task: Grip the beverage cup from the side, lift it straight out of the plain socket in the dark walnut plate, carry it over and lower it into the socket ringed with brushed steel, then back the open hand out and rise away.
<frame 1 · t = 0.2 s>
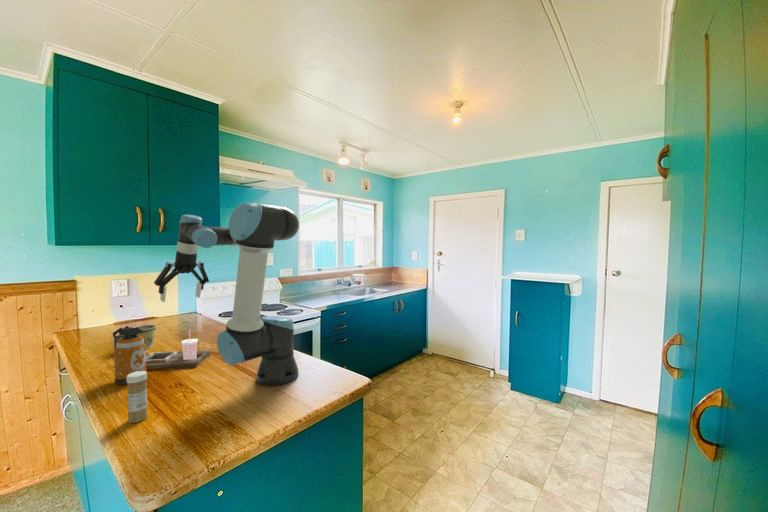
hand: (180, 298, 132), 27 cm above the counter, tool tilted 15°, fingers open, 13 cm apart
canister: (128, 380, 114), on the counter
socket plate: (174, 362, 131), on the counter
sprinkles bottle: (137, 419, 88), on the counter
beverage cup: (190, 361, 132), resting in socket plate
ceramic cup: (144, 347, 150), on the counter
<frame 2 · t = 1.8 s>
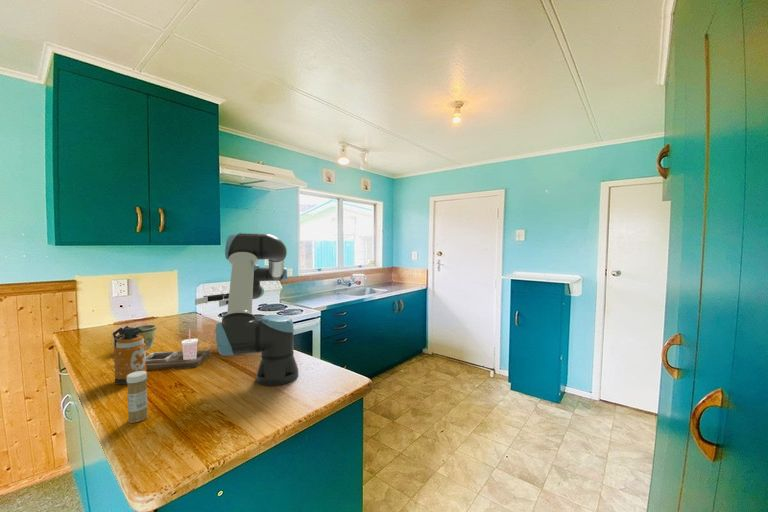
hand: (207, 302, 141), 24 cm above the counter, tool horizontal, fingers open, 13 cm apart
nothing on the counter moved.
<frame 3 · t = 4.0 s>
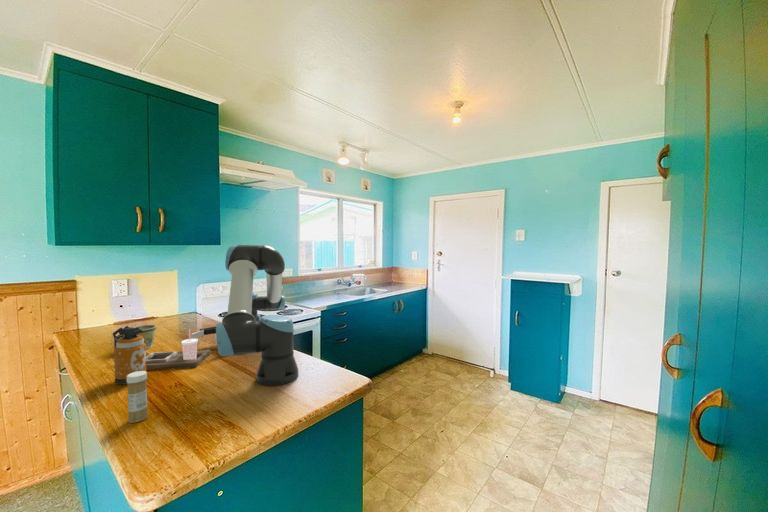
hand: (203, 338, 139), 8 cm above the counter, tool horizontal, fingers open, 13 cm apart
nothing on the counter moved.
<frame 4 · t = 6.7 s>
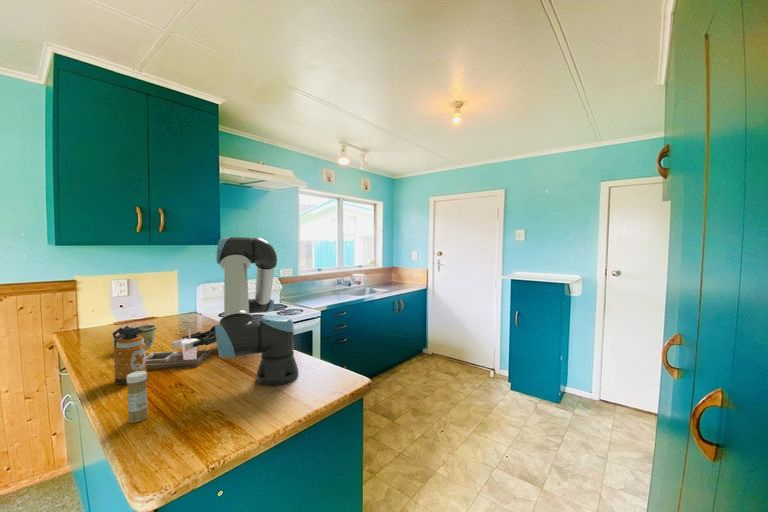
hand: (179, 346, 127), 8 cm above the counter, tool horizontal, fingers closed on beverage cup, 6 cm apart
beverage cup: (190, 361, 132), resting in socket plate, touching gripper
everything else where it was.
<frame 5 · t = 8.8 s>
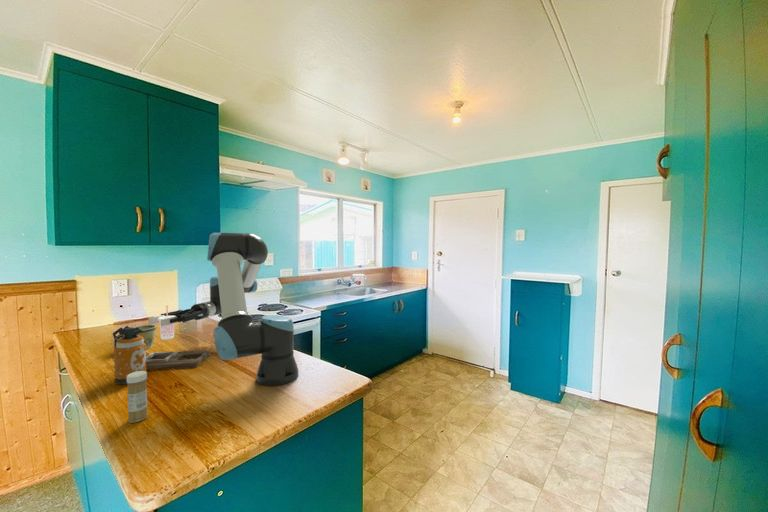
hand: (155, 322, 126), 18 cm above the counter, tool horizontal, fingers closed on beverage cup, 6 cm apart
beverage cup: (167, 338, 131), point 10 cm above the counter, touching gripper
everything else where it was.
when the fingers open (9 cm above the counter, at t = 11.4 s): beverage cup drops 1 cm, resting in socket plate.
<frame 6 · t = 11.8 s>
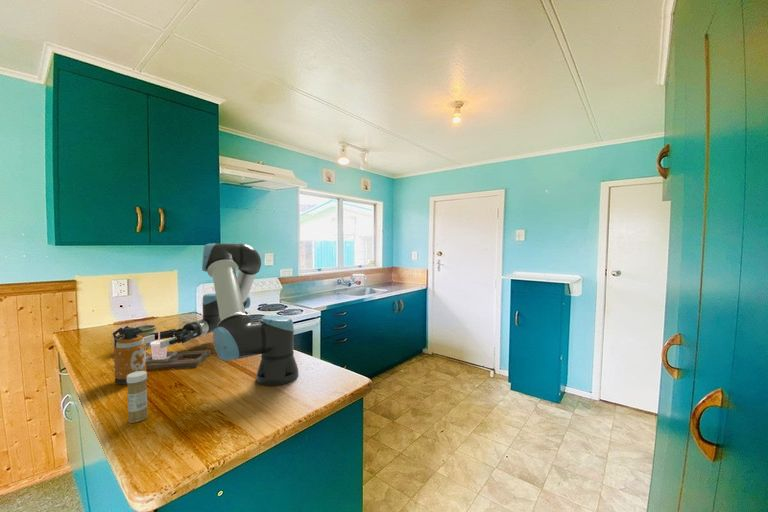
hand: (149, 343, 126), 9 cm above the counter, tool horizontal, fingers open, 11 cm apart
beverage cup: (159, 363, 130), resting in socket plate
everything else where it was.
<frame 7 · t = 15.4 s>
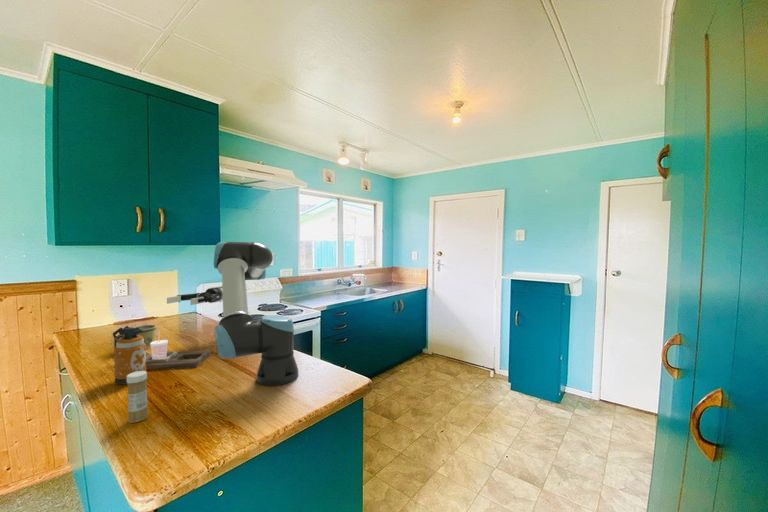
hand: (179, 301, 139), 25 cm above the counter, tool horizontal, fingers open, 13 cm apart
nothing on the counter moved.
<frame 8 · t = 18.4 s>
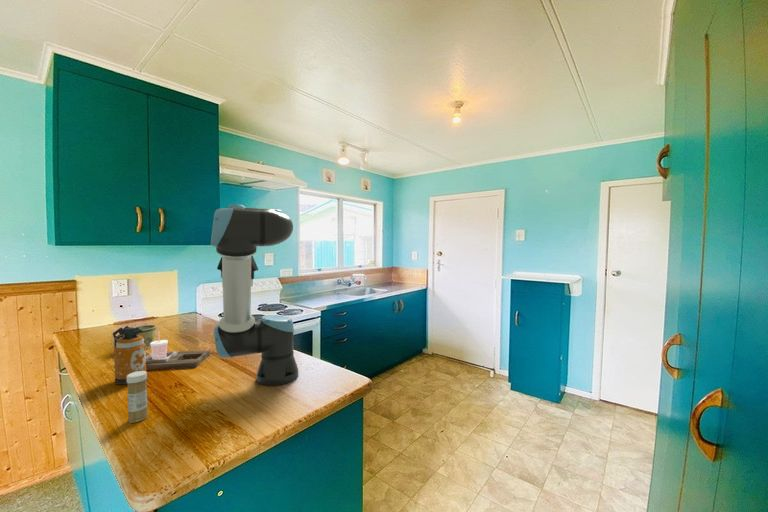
hand: (237, 285, 140), 32 cm above the counter, tool pointing down, fingers open, 13 cm apart
nothing on the counter moved.
at the end: beverage cup 0.1 cm from the target spot on the socket plate, point 0.0 cm above the socket plate's base; beverage cup tilted 0°; the gripper is holding nothing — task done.
